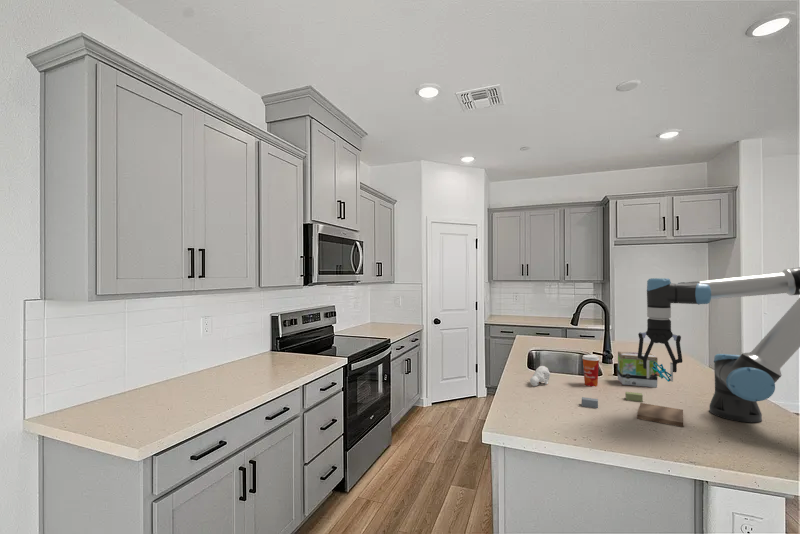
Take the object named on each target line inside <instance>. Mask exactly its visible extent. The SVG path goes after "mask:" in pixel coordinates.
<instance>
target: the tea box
mask: <svg viewBox="0 0 800 534" xmlns="http://www.w3.org/2000/svg"><path fill="white" fill-rule="evenodd" d="M645 353H646V352H642V356H644V355H645ZM647 360H649V376H650V375H652V374H653V373H654V371H653V369H652V367H653V366H654V365H653V363H654V362H656V363H657V364H659V363H658V356H656V355H655V354H653V353H651V352H650V353H649V356H648V358H647ZM655 365H656V364H655ZM654 367H655V366H654ZM656 367H657V368H658V366H657V365H656ZM650 377H651V376H650ZM650 377H649V378H650ZM649 378H647V369H644V368H643V360H642V359H640V358H638V352H632V351H619V350H618V351H617V380H618V381H619V383H620V384H621V385H623V386H624V385H625V386H637V387H648V388H655V387H656V388H658V378H659V376H656V377H654V378H653V379H651V380H649ZM656 388H655V389H656Z"/></svg>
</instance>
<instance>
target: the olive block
mask: <svg viewBox="0 0 800 534" xmlns="http://www.w3.org/2000/svg"><path fill="white" fill-rule="evenodd" d="M624 394H625V397H624V398H625V401H629V400H631V401H630V402H638V401H640V402H639V403H643V402H644V401H643V400H644V399H643V396H644V395H643V393H642V392H631V391H625V393H624Z"/></svg>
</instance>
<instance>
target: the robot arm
mask: <svg viewBox="0 0 800 534" xmlns="http://www.w3.org/2000/svg"><path fill="white" fill-rule="evenodd" d="M779 294H786V295H789V296H799V295H800V266H799V267H795V268H794V267H793V268H785V269H783V270H782V271H781V272H772V273H764V274H754V275H747V276H746V275H745V276H744V275H743V276H736V277H728V278H727V277H726V278H718V279H716V278H715V279H707V280H698V281H689V282H678V283H672V282H671V279H670V278H665V277H664V278H663V277H661V278H660V277H659V278H657V277H656V278H655V277H654V278H648V280H647V281H646V310H647V311H646V312H647V313H646V315H647V318H648V319H647V320H646V321H647V322H646V323H647V325H646V326H647V329H646V331H645V332H638V339H639V341H638V342H639V343H638V348H637V349H638V351H637V353H638V358H640V359H642V360H643V368H644V369H647V378H649V377H650V376H649V360H647V358H648V356H649V353H651V350H652V348H653V346H654V344H662V345H663V344H664V346H665V349H666V351H667V353H668V355H669V357H670V360H671V362H670V363H669V365H670V369H669V370H670V371H669V372H670V373H669V374H671V375H672V376H671V377H670V379H671V381H670V382H674V373H677V370H678V369H677V364H681V363H683V356H682V349H681V341H682V336H681V335H676V334H675V333H674V334H673V332H672V321H671V317H672V315H671V314H672V311H671V309H672V308H671V307H672V306H671V305H672V304H681V305H682V304H685V305H708V304H710V303H711V300H717V299H718V300H719V299H731V298H741V297H744V298H745V297H754V296H766V295H767V296H768V295H779ZM646 336H647V337H648V338H649V340H650V341H649V344H648V347H647V349H646V351H645V352H644V353H645V355H644V356H642V353H643V348H644V339H645V338H646ZM671 338H673V341H675V346H676V354H677V358H676V356H675V355H674V352H673V350H672V347H671V345H670V343H669V341H670V340H671ZM799 349H800V297H799V298H798V299H797V300H796V301H795V302H794V304H792V305H791V307H789V309H788V310H787V311H786V312H785V313H784V315H782V316H781V318H779V320H778V321H777V323H776V324H775V325H774V326H773V327H772V328H771V329H770V330H769V331H768V332H767V333H766V334H765V336H763V338H762V339H761V340H760V341H759V342H758V344H757V345H756V346H755V347H754V348H753V349H752V350H751V351H750V352H743V353H742V354H741V353H740V354H730V353H716V354H715V355H714V357H713V358H714V360H713V363H714V364H713V365H714V367H713V368H714V370H713V371H714V394H713V395H712V398H711V401H710V403H709V406H708V407H709V413H711V414H712V415H715V416H717V417H719V418H724V419H726V420H730V421H731V420H732V421H734V422H735V421H736V422H741V423H759V422H762V421H763V417H762V416H763V415H762V411H761V409H760V406H759V404H758V402H763V401H765V400H767V399H769V398H771V397H772V396H773V395H774V393H775V390H776V383H777V382H778V380H779V379H781V377H782V376H783V375H782V371H781V368H782V367H783V366H784V365H785V364H786V363H787V362H788V361H789V360H790V359H791V358H792V357H793V356H794V354H795V353H796V352H797V351H798V350H799Z"/></svg>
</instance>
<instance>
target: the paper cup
mask: <svg viewBox="0 0 800 534" xmlns="http://www.w3.org/2000/svg"><path fill="white" fill-rule="evenodd" d="M581 358H582V366H583V368H582V369H583V378H584V385H585V386H588V387H592V386H595V387H598V382H599V366H600V365H599V363H600V358H599V355H595V354H594V355H593V354H584V355H582V357H581Z"/></svg>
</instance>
